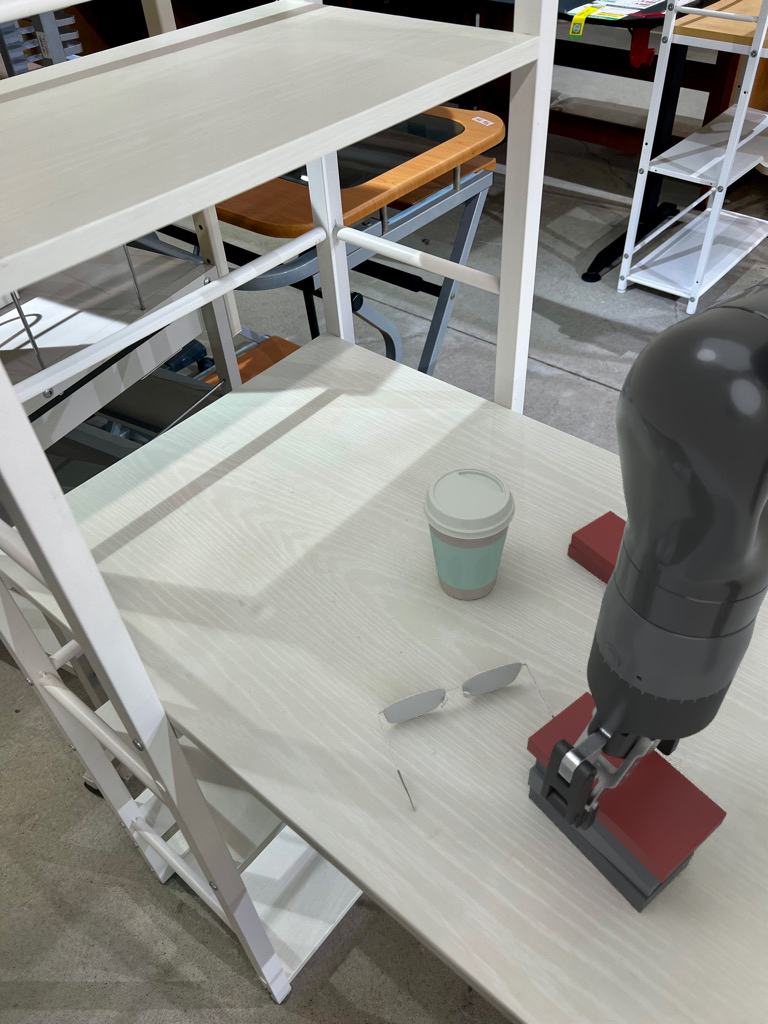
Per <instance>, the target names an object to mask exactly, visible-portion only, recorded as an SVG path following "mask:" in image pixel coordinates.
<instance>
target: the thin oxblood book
mask: <svg viewBox="0 0 768 1024" xmlns="http://www.w3.org/2000/svg"><path fill="white" fill-rule="evenodd" d="M594 708H595V703H594V700H593V697H592V694H591V692H588V691H586V692H585V693H583V694H582V695H581V696H580V697H578V698H576V699H575V701H573V702H571V704H569V705H568V706H567V707H566V708H564V709H563V710H562V711H561V712H559V713H558V714H557V715H555V716H554V718H552V719H551V720H549V721H548V722H547V723H545V724H544V725H542V727H540V728H539V729H538V730H537V731H535V732H534V733H533V734H532V735H530V736H529V737H528V739H527V746H526V749H527V751H528V752H529V753H530V754H531V755H532V756H533V757H534V758H535V760H536V759H537V760H538V761H539V762H540V763H541V764H542V765H543V766H544V767H545V768H546V769H547V767H548V763H549V759H550V756H551V752H552V750H553V748H554V745H555V744H556V743H557V742H559V741H561V740H562V739H566V740H567V741H568V742H569V743H570V744H571V745H572V746H574V744H575V743H576V741H577V740H578V738H579V737H580V736H581V734H582V733H583V731H584V730H585V728H586V727H587V725H588V724H589V722H590V721H591V720H592V717H593V716H592V712H593V709H594ZM601 755H602V756H603V757H604V758H605V759H606V760H608V761H609V762H610V763H611V764H612V765H613V766H614V767H615V768H617V769H618V768H619V766H620V765H621V764H622V762H623V761H624V759H620V758H616V757H611V756H608V755H606V754H604V753H603V752H602V753H601ZM597 784H598V779H597V780H596V781H594V782H593V785H592V789H594V788H595V786H596V785H597ZM727 814H728V813H727V811H725V810H724V809H723V808H722V807H721V806H719V805H718V803H716V801H714V800H713V799H712V798H710V797H709V796H708V795H707V794H706V793H705V792H703V791H702V789H700V788H699V787H698V786H696V784H694V783H693V782H692V781H691V780H690V779H689V778H687V777H686V776H685V775H684V774H683V773H682V772H681V771H680V770H678V769H677V768H676V767H675V766H673V764H671V763H670V762H669V761H668V760H667V759H665V757H664V756H662V755H661V754H660V753H658V751H656V750H655V749H654V751H653V752H652V753H650V754H648V755H645V756H644V757H643V758H642V760H641V761H640V762H639V764H638V765H637V766H636V768H635V769H634V771H633V772H632V773H631V775H630V776H629V777H628V779H627V780H626V782H625V783H624V784H622V785H620V786H617V787H615V788H610V789H609V790H608V791H607V793H606V794H605V796H604V797H603V798H602V800H601V802H600V805H599V808H598V811H597V814H596V818H597V819H598V820H599V821H600V822H601V823H602V824H603V825H604V826H605V827H606V828H607V829H608V830H609V831H610V832H611V833H612V834H613V835H614V836H615V837H616V838H617V839H618V840H619V841H620V842H621V843H622V844H623V845H624V846H625V847H626V848H627V849H628V850H629V851H630V852H631V853H632V854H633V855H634V856H635V857H636V858H637V859H638V860H639V861H640V862H641V863H642V864H643V865H644V866H645V867H646V868H647V869H648V870H649V871H650V872H651V873H652V874H653V875H654V876H655V877H656V878H657V879H658V880H659V881H660V882H661V883H663V882H664V881H665V880H666V879H667V878H668V877H669V876H670V875H671V874H672V873H673V872H674V871H675V870H676V869H677V868H678V867H679V866H680V865H681V864H682V863H683V862H684V861H685V860H686V859H687V858H688V857H689V856H690V855H691V854H692V853H693V852H694V853H695V851H696V850H697V849H698V848H699V847H700V846H702V844H703V843H704V842H705V841H706V840H707V839H708V838H709V837H710V836H712V834H713V833H714V832H715V831H716V830H717V829H718V828H719V827H720V826H721V825H722V824H723V822H724V820H725V818H726V816H727Z"/></svg>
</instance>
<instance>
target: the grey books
mask: <svg viewBox="0 0 768 1024" xmlns="http://www.w3.org/2000/svg"><path fill="white" fill-rule="evenodd" d="M546 771H547V769H546V768H545V767H544V766H543V765H542V764H541V763H540V762H539V761H538V760H537V759H536V758H535V763H534V765H532V766H531V767H530V768H529V772H528V779H527V785H528V786H529V792H528V798H529V799H530V800H531V802H533V804H535V805H536V807H537V808H539V810H540V811H541V813H543V814H544V815H545V816H546V817H547V818H548V819H549V820H550V821H551V822H552V823H553V825H554V826H555V827H556V828H558V829H559V831H560V832H561V833H562V834H563V835H564V836H565V837H566V838H567V839H568V840H569V841H570V842H571V843H572V844H573V845H574V846H575V847H576V849H578V851H580V853H581V854H582V855H583V856H584V857H585V858H586V859H587V861H588V862H590V863H591V864H592V865H593V866H594V868H595V869H597V871H599V873H601V875H602V876H603V877H604V878H605V879H606V880H607V881H608V882H609V883H610V884H611V885H612V886H613V888H614V889H616V890H617V892H618V893H620V894H621V896H622V897H623V898H624V899H625V900H626V901H627V902H628V903H629V904H630V905H631V906H632V907H633V908H634V909H635V910H636V911H637V912H638V914H641V913H642V912H643V911H645V909H646V908H647V907H648V906H649V905H651V903H653V901H654V900H655V899H656V898H657V897H658V896H659V895H660V894H661V893H662V892H663V891H664V890H665V889H666V888H667V887H668V886H669V885H670V884H671V883H672V882H673V881H674V880H675V879H676V878H677V877H678V876H679V875H680V874H681V873H682V872H683V871H684V870H685V869H686V868H687V867H688V865H689V863H690V862H691V860H692V858H693V856H694V854H695V851H694V852H693V853H692V854H691V855H690V856H689V857H688V858H687V859H686V860H685V861H684V862H683V863H682V864H681V865H680V866H679V867H678V868H677V869H676V870H675V871H674V872H673V873H672V874H671V875H670V876H669V877H668V878H667V879H666V880H665V881H664V882H663V883H661V882H660V881H659V880H658V879H657V878H656V877H655V876H654V875H653V874H652V873H651V872H650V871H649V870H648V869H647V868H646V867H645V866H644V865H643V864H642V863H641V862H640V861H639V860H638V859H637V858H636V857H635V856H634V855H633V854H632V853H631V852H630V851H629V850H628V849H627V848H626V847H625V846H624V845H623V844H622V843H621V842H620V841H619V840H618V839H617V838H616V837H615V836H614V835H613V834H612V833H611V832H610V831H609V830H608V829H607V828H606V827H605V826H604V825H603V824H602V823H601V822H600V821H599V820H598V819H597V818H596V817H595V820H594V823H593V824H592V825H591V826H590V827H589V828H588V829H587V830H583V829H581V828H580V827H578V828H577V829H576V828H575V827H574V826H573V825H569V824H568V823H567V822H566V821H565V820H564V819H563V818H562V817H561V816H560V815H559V814H558V813H557V812H556V811H555V810H554V809H553V807H552V806H551V805H550V804H549V803H548V802H547V801H546V800H545V799H544V798H543V797H542V796H541V795H540V793H541V789H542V786H543V782H544V778H545V774H546Z"/></svg>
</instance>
